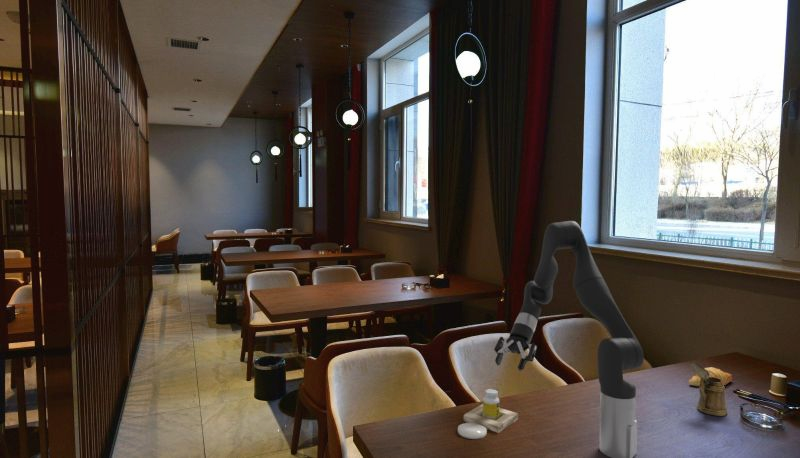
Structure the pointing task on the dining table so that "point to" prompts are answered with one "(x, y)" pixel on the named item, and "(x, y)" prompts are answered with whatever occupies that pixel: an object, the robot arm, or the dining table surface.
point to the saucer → (472, 430)
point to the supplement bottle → (491, 404)
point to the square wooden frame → (497, 425)
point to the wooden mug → (710, 393)
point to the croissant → (712, 373)
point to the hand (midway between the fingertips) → (508, 366)
